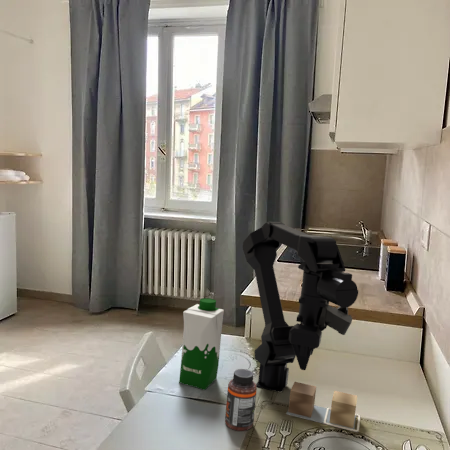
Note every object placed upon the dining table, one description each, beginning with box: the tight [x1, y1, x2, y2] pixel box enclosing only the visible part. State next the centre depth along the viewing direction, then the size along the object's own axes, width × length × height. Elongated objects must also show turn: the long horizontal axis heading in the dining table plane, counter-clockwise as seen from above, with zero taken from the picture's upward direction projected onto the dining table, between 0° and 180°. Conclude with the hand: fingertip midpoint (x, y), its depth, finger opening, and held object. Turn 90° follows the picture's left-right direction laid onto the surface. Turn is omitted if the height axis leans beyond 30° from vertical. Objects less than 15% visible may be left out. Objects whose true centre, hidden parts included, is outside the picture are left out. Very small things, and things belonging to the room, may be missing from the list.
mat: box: [285, 404, 357, 430], centre depth 101 cm, size 14×7×1 cm, turn 71°
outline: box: [322, 407, 361, 433], centre depth 100 cm, size 7×7×1 cm
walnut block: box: [287, 381, 317, 418], centre depth 103 cm, size 5×5×5 cm
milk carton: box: [178, 297, 225, 391], centre depth 112 cm, size 9×9×20 cm
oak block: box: [329, 390, 358, 428], centre depth 100 cm, size 5×5×5 cm
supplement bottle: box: [224, 368, 258, 432], centre depth 94 cm, size 6×6×11 cm
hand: (306, 361), depth 102 cm, fingers open, 9 cm apart
